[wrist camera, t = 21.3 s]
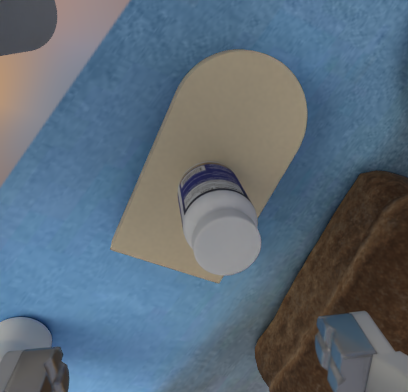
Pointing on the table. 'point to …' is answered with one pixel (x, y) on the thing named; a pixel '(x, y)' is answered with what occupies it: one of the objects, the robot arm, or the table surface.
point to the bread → (344, 283)
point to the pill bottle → (218, 219)
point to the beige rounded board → (214, 149)
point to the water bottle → (23, 335)
